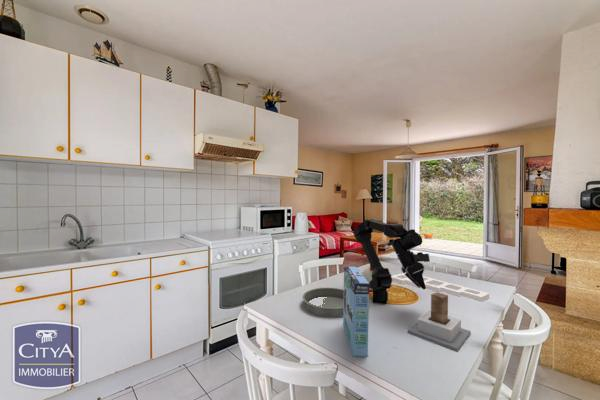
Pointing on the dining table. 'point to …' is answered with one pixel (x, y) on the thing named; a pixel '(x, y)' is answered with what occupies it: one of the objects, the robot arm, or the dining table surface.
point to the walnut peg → (439, 308)
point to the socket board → (439, 341)
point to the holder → (444, 287)
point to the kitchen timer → (368, 275)
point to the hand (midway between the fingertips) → (422, 288)
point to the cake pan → (326, 301)
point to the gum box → (356, 311)
